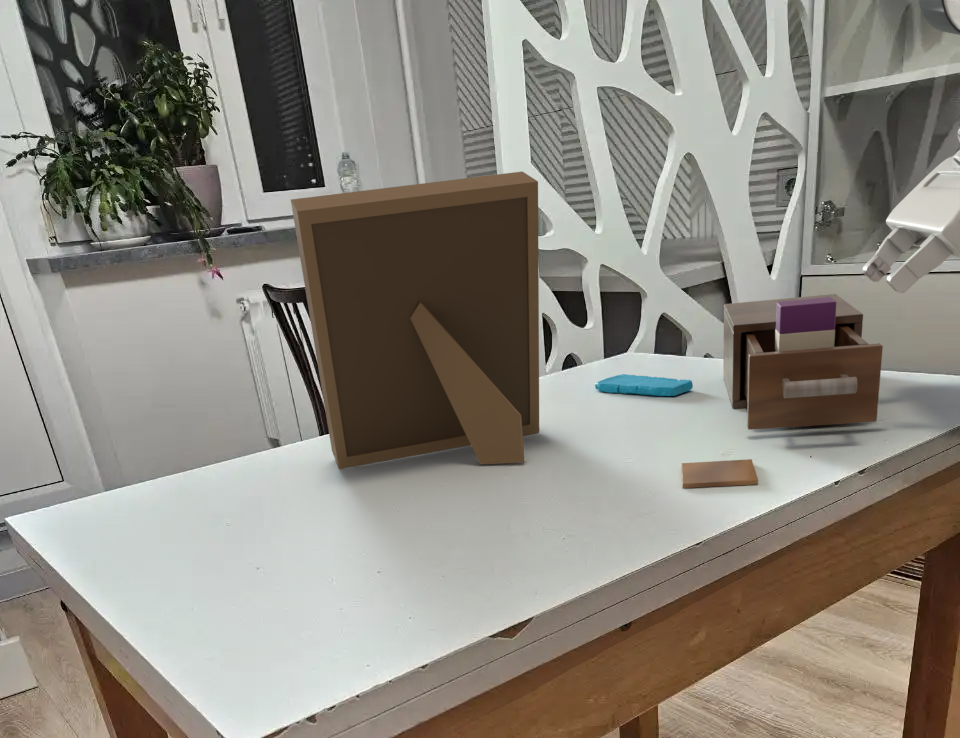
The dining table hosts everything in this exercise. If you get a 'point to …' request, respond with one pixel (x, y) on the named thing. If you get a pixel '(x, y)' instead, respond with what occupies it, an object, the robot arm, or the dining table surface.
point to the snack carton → (805, 324)
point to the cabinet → (762, 319)
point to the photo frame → (425, 316)
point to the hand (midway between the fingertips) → (879, 282)
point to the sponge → (644, 385)
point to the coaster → (718, 473)
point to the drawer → (811, 381)
